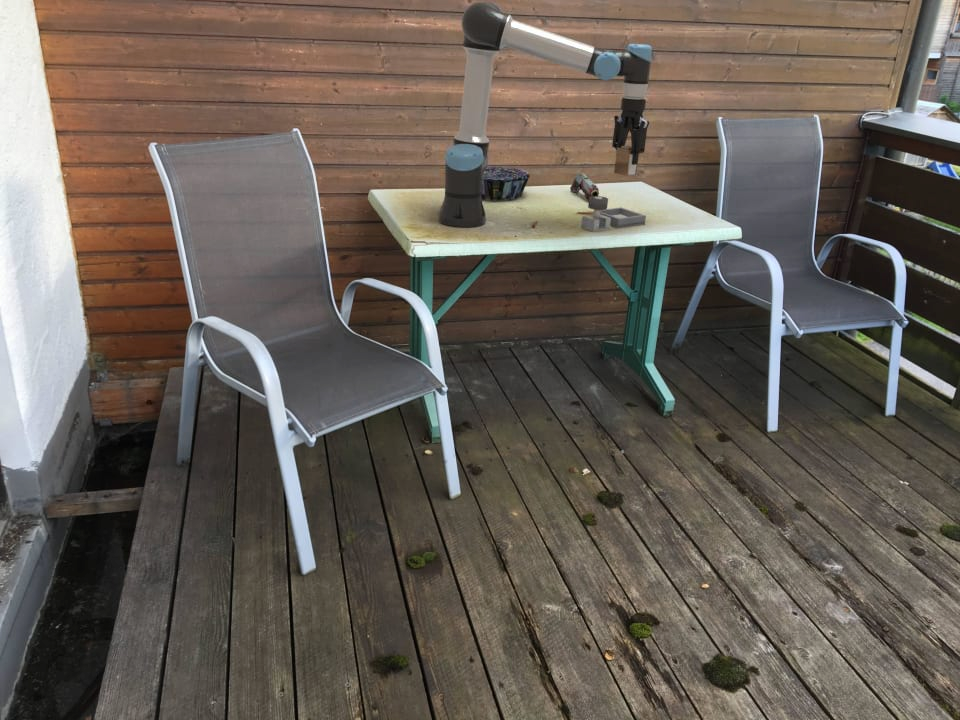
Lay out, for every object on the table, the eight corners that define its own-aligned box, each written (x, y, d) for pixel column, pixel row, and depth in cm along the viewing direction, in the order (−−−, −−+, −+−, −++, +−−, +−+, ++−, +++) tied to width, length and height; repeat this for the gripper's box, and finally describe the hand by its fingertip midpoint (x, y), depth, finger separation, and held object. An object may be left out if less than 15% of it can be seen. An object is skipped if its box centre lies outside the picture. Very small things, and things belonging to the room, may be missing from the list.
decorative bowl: (521, 211, 273) (525, 183, 269) (446, 198, 276) (449, 170, 272) (530, 195, 296) (534, 169, 292) (461, 184, 299) (463, 158, 295)
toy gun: (586, 212, 282) (590, 186, 276) (567, 190, 297) (571, 165, 292) (597, 212, 283) (602, 186, 277) (577, 190, 298) (582, 165, 293)
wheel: (595, 220, 243) (597, 200, 240) (583, 215, 247) (585, 196, 245) (609, 218, 246) (612, 198, 243) (597, 213, 250) (599, 194, 248)
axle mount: (593, 232, 244) (594, 220, 243) (580, 227, 249) (582, 215, 247) (609, 229, 248) (611, 218, 246) (597, 225, 252) (598, 213, 251)
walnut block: (624, 175, 247) (627, 148, 244) (614, 172, 251) (617, 145, 247) (636, 174, 250) (639, 147, 246) (625, 171, 254) (628, 144, 250)
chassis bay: (617, 228, 250) (618, 219, 248) (593, 219, 259) (594, 210, 257) (644, 224, 256) (646, 215, 254) (620, 216, 265) (621, 207, 263)
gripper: (663, 100, 236) (653, 177, 245) (623, 94, 249) (614, 166, 259) (645, 101, 232) (635, 179, 242) (605, 94, 245) (598, 168, 255)
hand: (625, 172), depth 250 cm, fingers closed on walnut block, 5 cm apart
